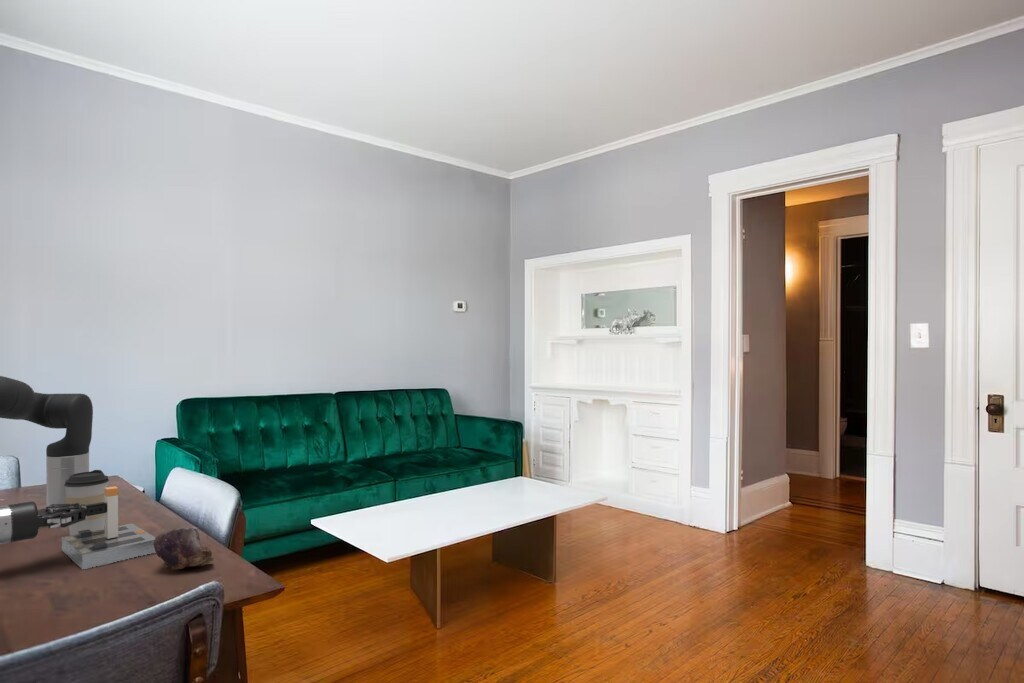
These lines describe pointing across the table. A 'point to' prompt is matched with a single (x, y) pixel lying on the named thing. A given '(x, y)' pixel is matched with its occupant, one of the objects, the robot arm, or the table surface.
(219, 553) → the table surface
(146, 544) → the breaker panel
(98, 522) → the coffee cup
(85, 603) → the table surface
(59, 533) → the table surface
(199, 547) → the rock
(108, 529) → the orange-capped grey post
